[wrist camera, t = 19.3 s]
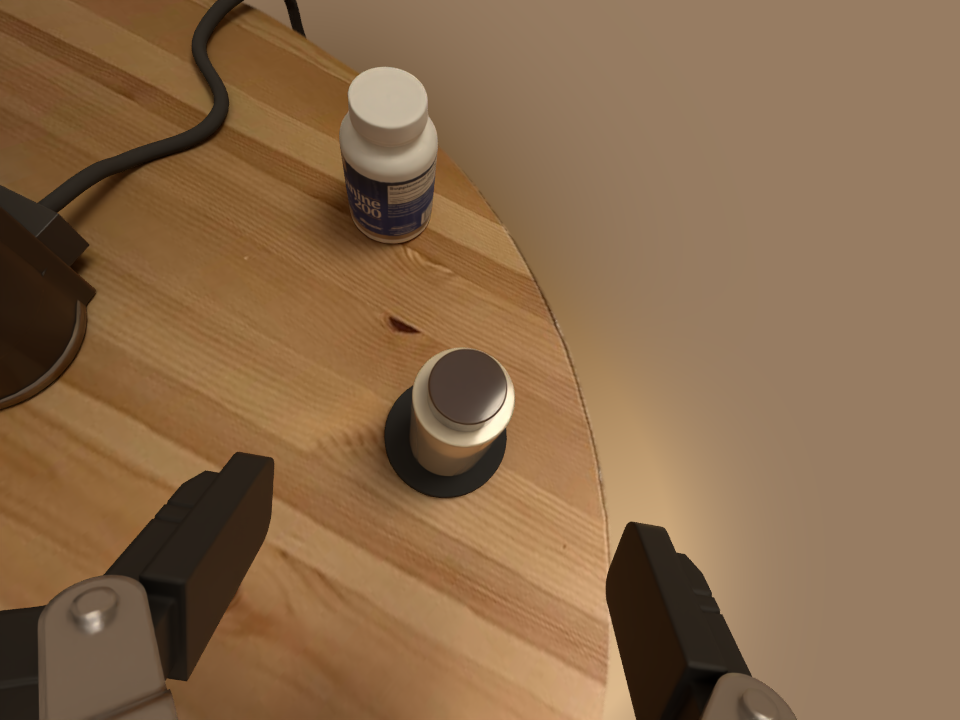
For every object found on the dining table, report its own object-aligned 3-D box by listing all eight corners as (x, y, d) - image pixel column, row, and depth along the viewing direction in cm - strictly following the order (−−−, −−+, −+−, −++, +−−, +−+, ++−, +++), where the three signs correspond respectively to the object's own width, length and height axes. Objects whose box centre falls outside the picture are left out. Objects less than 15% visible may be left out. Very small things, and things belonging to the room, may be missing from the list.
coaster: (419, 360, 33) (420, 356, 32) (523, 410, 33) (525, 408, 32) (362, 463, 30) (361, 462, 30) (474, 519, 30) (475, 518, 30)
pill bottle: (335, 196, 36) (313, 74, 27) (406, 167, 38) (407, 43, 28) (374, 259, 35) (365, 154, 26) (446, 226, 36) (461, 116, 27)
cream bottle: (393, 440, 30) (389, 388, 21) (444, 385, 32) (462, 314, 23) (451, 493, 30) (474, 463, 21) (501, 434, 31) (543, 382, 22)
